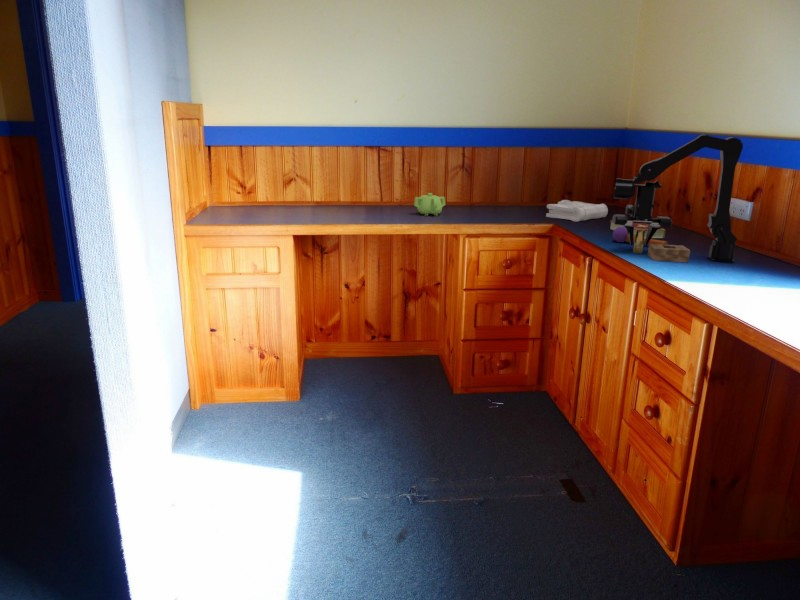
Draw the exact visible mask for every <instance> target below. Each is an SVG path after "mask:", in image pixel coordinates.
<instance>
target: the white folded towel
mask: <svg viewBox="0 0 800 600" xmlns="http://www.w3.org/2000/svg"><path fill="white" fill-rule="evenodd" d="M546 209H548V212H547V213H545V214H546V215H545V217H546V218H551V219H562V220H563V219H564V220H570V221H572V222H576V223H577V222H583V221H588V220H592V219H593V220H595V219H597V220H598V219H600V218H602V219H604V218H606V217H607V215H608V212H609V209H608V206H607V205H606V204H605V203H600V204H596V203H595V204H594V203H588V202H583V201H578V200H577V201H575V200H573V201H571V200H570V199H569V200H568V199H562V200H560V201H557V203H549V204H547V205H546Z"/></svg>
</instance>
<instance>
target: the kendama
mask: <svg viewBox="0 0 800 600" xmlns="http://www.w3.org/2000/svg"><path fill="white" fill-rule="evenodd" d="M612 238H613V240H614V241H615V242H617V243H625V242H626V243H630V241H629V236H628V232H627V229H626V228H625V227H618V228H616V229H615V230H613V232H612ZM634 240H635V234H634V233H633V242H634ZM645 240H646V238H644V242H643V244H645ZM649 244H663V245H668V241H666V240H661V239H660V240H659V239H654V238H651V240H650V241H649V243H648V245H647V246H649Z"/></svg>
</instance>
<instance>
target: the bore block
mask: <svg viewBox="0 0 800 600" xmlns="http://www.w3.org/2000/svg"><path fill="white" fill-rule="evenodd" d="M690 255H691V250H690V249H689V248H687V247H686V246H685V245H682V244H681V245H679V244H678V245H677V244H667V245H663V244H649V245H648V251H647V256H648V257H649V258H650V259H651V260H652V261H654V262H655V261H656V262H657V261H658V262H674V263H675V262H676V263H689V261H690V260H689V259H690Z"/></svg>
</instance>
